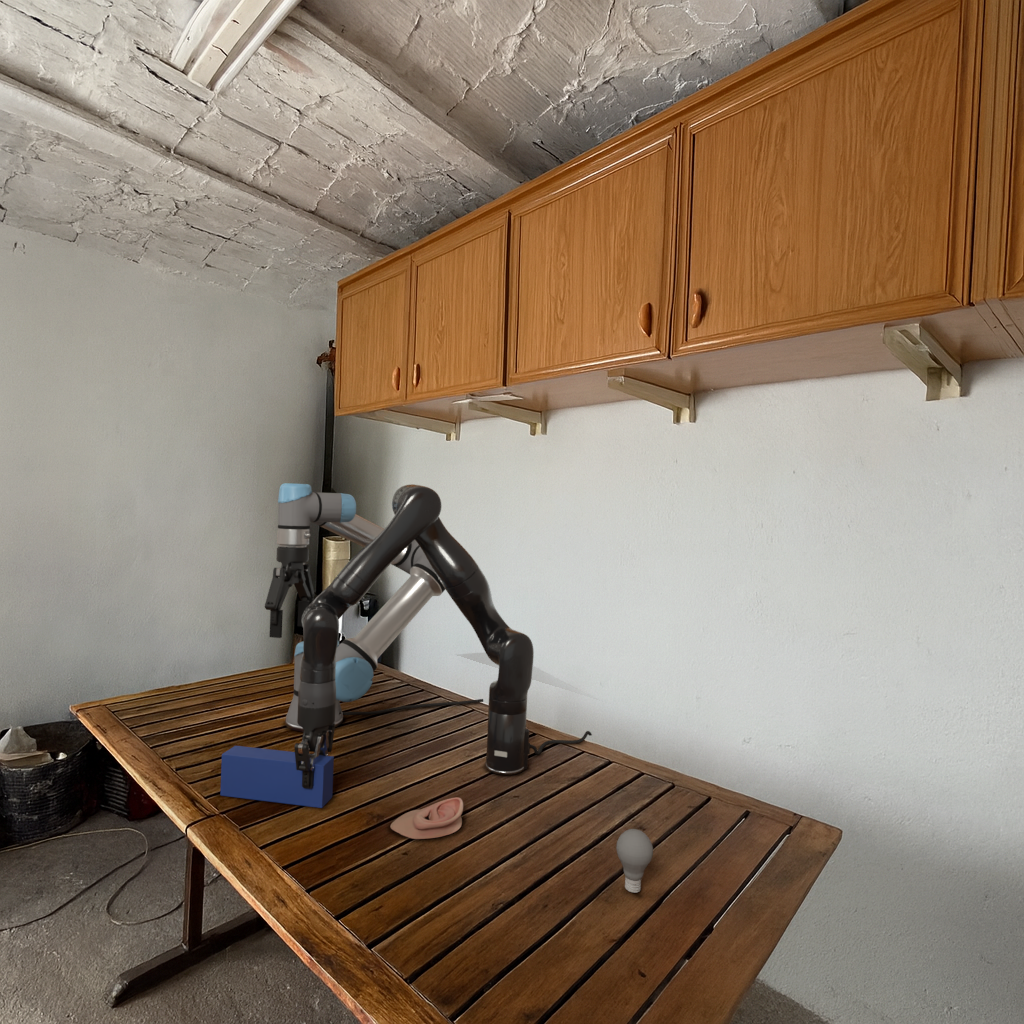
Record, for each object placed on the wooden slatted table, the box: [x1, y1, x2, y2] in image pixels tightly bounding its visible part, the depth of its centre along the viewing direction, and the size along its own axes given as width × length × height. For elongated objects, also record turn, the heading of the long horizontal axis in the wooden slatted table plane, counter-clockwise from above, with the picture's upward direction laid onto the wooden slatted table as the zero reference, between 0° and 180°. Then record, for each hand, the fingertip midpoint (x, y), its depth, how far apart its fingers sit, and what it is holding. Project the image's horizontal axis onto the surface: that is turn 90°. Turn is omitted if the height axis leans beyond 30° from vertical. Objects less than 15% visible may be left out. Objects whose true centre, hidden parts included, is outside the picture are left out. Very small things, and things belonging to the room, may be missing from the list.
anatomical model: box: [390, 797, 464, 840], centre depth 124 cm, size 13×4×12 cm
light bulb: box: [615, 828, 654, 894], centre depth 106 cm, size 6×6×10 cm
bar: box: [219, 745, 335, 809], centre depth 133 cm, size 23×5×9 cm, turn 81°
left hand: (289, 631), depth 156 cm, fingers open, 13 cm apart
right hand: (314, 781), depth 132 cm, fingers closed on bar, 5 cm apart
